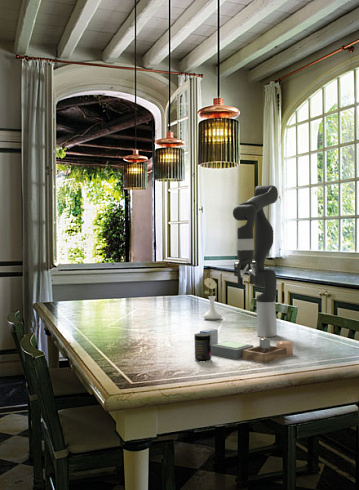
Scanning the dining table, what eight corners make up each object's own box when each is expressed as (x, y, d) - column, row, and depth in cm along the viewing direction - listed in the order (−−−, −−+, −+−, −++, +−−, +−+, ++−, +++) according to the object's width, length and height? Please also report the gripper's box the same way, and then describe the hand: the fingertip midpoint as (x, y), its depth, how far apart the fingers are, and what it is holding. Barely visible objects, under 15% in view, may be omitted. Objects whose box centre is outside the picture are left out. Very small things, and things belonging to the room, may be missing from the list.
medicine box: (210, 347, 231) (209, 328, 230) (218, 348, 228) (217, 329, 228) (199, 350, 225) (199, 330, 224) (207, 351, 222) (207, 331, 222)
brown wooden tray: (242, 358, 207) (242, 350, 207) (263, 352, 218) (263, 344, 218) (265, 363, 199) (265, 354, 199) (286, 356, 210) (286, 348, 210)
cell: (263, 353, 212) (263, 336, 211) (272, 354, 209) (272, 337, 208) (257, 355, 208) (257, 337, 208) (266, 356, 205) (266, 339, 205)
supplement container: (210, 362, 203) (209, 336, 203) (193, 361, 204) (193, 336, 204) (212, 358, 210) (211, 333, 210) (196, 357, 211) (195, 332, 211)
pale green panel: (227, 344, 222) (227, 341, 222) (248, 347, 214) (247, 344, 214) (215, 347, 217) (215, 344, 217) (236, 350, 209) (236, 348, 209)
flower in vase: (225, 319, 305) (225, 278, 305) (210, 321, 299) (210, 279, 298) (212, 316, 316) (211, 276, 316) (197, 318, 310) (196, 278, 309)
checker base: (227, 349, 225) (227, 341, 224) (253, 354, 214) (253, 345, 214) (210, 354, 217) (210, 345, 217) (236, 359, 207) (236, 350, 207)
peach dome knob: (282, 351, 218) (281, 340, 218) (296, 354, 213) (296, 342, 213) (272, 354, 213) (272, 342, 213) (287, 357, 208) (286, 345, 208)
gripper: (248, 248, 237) (249, 283, 237) (229, 249, 227) (229, 285, 227) (261, 248, 231) (262, 284, 232) (242, 249, 221) (243, 286, 222)
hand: (246, 284), depth 229 cm, fingers open, 8 cm apart
